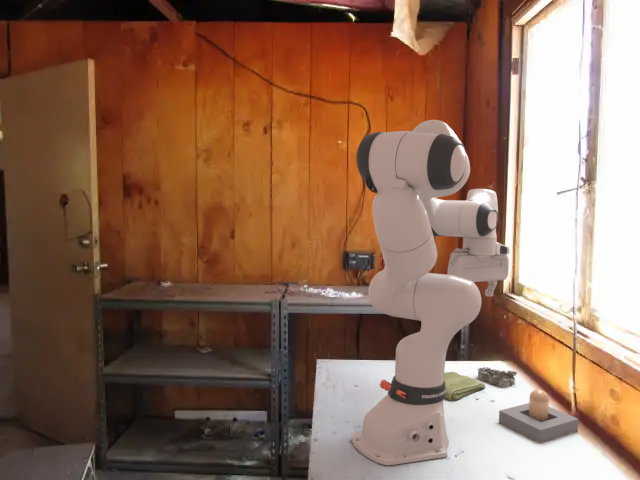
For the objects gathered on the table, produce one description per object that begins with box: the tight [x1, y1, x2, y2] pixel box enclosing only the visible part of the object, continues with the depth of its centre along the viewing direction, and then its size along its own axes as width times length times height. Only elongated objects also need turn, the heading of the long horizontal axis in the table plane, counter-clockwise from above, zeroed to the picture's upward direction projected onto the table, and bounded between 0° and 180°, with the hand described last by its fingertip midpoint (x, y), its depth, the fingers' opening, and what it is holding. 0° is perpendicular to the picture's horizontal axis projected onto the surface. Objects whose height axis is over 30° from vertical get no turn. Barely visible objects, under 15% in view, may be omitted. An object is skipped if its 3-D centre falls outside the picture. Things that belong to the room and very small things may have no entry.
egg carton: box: [477, 366, 518, 388], centre depth 154 cm, size 11×8×4 cm
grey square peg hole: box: [498, 402, 579, 443], centre depth 123 cm, size 14×12×3 cm
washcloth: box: [444, 371, 486, 402], centre depth 147 cm, size 13×18×3 cm
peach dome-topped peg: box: [528, 388, 550, 422], centre depth 123 cm, size 4×4×8 cm
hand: (476, 297), depth 137 cm, fingers open, 8 cm apart
